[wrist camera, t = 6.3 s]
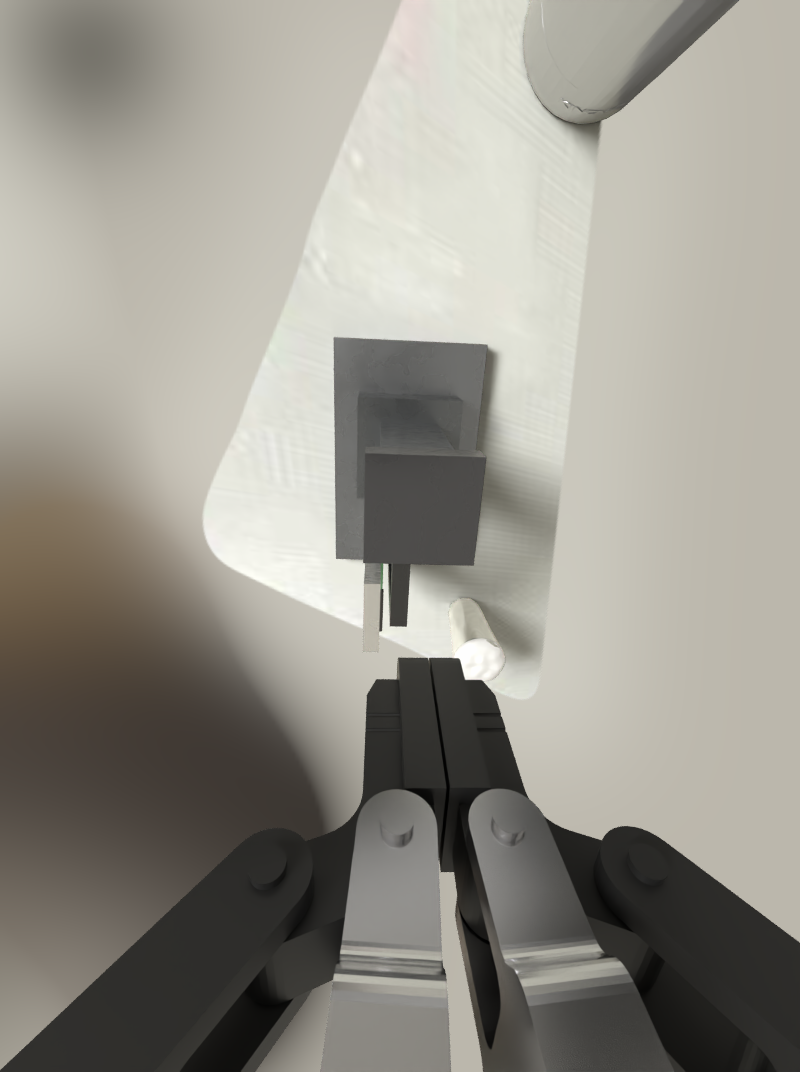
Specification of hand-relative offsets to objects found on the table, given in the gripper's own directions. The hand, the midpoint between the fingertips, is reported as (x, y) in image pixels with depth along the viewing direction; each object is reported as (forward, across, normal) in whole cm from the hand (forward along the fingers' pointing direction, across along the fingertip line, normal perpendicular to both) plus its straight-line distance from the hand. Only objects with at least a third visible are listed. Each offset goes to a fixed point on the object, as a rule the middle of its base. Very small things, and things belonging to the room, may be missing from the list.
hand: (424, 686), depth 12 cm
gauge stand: (+32, -1, +2) cm, 32 cm away
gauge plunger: (+25, -1, +3) cm, 25 cm away
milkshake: (+32, -8, +18) cm, 37 cm away
